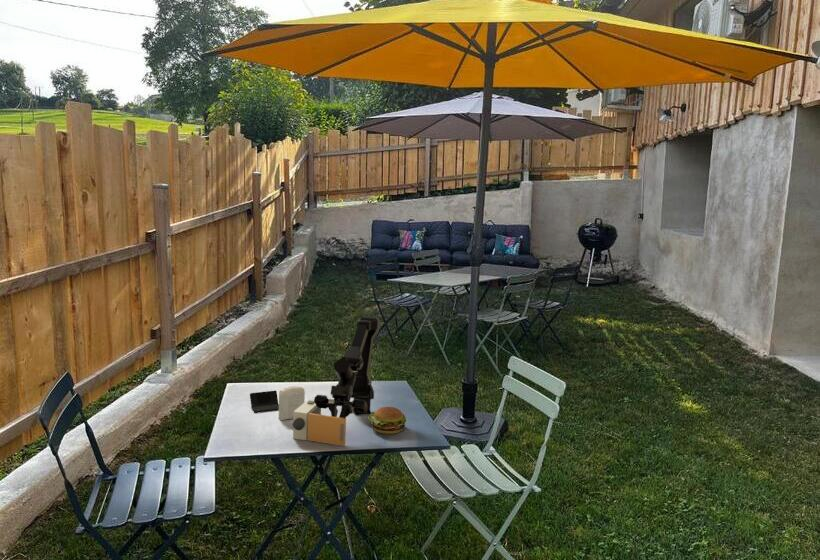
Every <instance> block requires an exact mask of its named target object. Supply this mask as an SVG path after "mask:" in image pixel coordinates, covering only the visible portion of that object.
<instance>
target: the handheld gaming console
mask: <svg viewBox="0 0 820 560" xmlns="http://www.w3.org/2000/svg"><path fill="white" fill-rule="evenodd" d="M249 399H250V400H249V401H250V406H251V407H250V408H251V410H252V412H253V411H254V412H253V413H254V414H258V412H260V413H266V412H268V411H269V412H276V411H279V397H278V393H277V390H269V391H268V390H267V391H260V392H250V393H249Z"/></svg>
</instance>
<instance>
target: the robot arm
mask: <svg viewBox="0 0 820 560" xmlns="http://www.w3.org/2000/svg"><path fill="white" fill-rule="evenodd" d="M381 321H382V320H381V319H379V317H378V316H368V315H363V316H362V317H361V318H358V319H357V322H356V328H355V329H356V330H355V333H354V335H353V338H352V342H351V343H350V347H349V348H348V349H347V350H346V351H345V352H344V354H343V356H341V358H339V359H338V360H336V361H335V362H334V363H333V369H334V372H335V374H336V376H337V378H338V379H339V380H338V381H337V382H338V383H337V384H336V385H331V388H330V395H331V396H332V397H331V398H328V395H323V394H316V396H315V397H314V399H313V400H314V402H315V404H316V406H317V407H318V408H321V409H325V410H326V409H329V410H328V411H330V413H331V415H330V416H333V417H340V418H346V419H347V417H348V416H350V414H353V413H354V414H355V415H356V416H361V415H362V416H363V415H371V414H372V412H373V411H372V410H371V401H372V400H374V399H375V390H374V388H373V386H372V384H373V383H372V379H371V377H370V367H371V360H372V353H373V346H374V339H375V338H376V337H377V336H378V334H379V331H380V329H381V327H382V322H381ZM355 372H356V373H355ZM351 399H352V400H351ZM337 407H341V409H340V413H339V416H338V412H339V410H338V408H337Z"/></svg>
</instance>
